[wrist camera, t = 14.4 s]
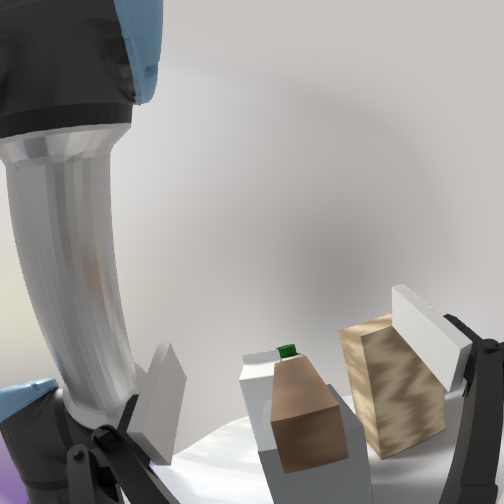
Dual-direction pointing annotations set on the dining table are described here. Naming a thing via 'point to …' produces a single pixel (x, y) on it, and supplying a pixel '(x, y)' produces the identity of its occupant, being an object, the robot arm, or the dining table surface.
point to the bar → (305, 418)
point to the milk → (258, 385)
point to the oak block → (391, 387)
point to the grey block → (323, 477)
